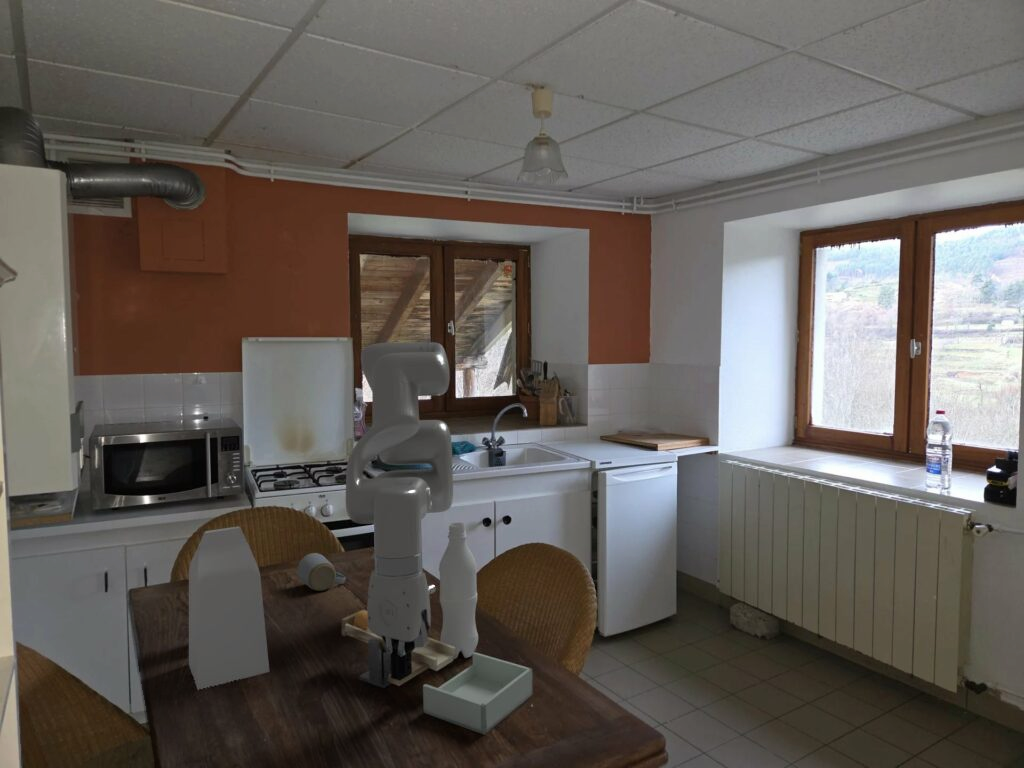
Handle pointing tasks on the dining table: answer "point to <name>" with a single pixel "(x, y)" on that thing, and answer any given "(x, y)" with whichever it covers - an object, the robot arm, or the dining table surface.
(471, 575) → the water bottle
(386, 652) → the fulcrum
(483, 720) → the tray
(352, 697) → the dining table surface
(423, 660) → the lever
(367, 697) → the dining table surface
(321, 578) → the ceramic mug
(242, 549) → the milk
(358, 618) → the ball
